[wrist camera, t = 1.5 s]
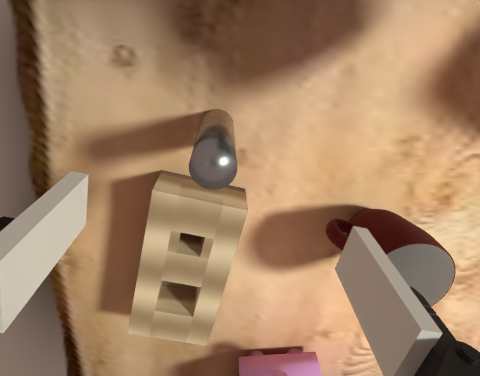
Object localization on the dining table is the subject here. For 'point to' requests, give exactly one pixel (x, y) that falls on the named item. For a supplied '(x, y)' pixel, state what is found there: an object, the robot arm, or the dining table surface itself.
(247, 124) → the dining table surface
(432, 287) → the mug
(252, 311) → the dining table surface
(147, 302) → the block
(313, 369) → the teapot
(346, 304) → the dining table surface
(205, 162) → the pin
